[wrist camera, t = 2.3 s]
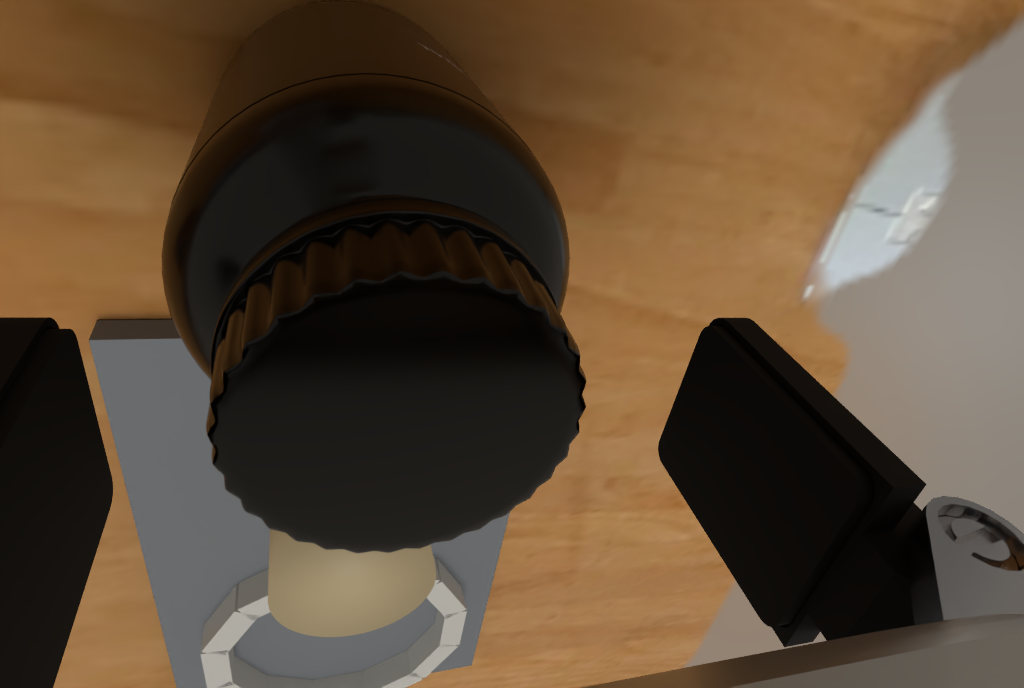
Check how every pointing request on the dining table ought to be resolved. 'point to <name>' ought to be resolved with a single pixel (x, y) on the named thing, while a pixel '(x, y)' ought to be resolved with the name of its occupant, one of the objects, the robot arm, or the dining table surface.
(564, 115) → the dining table surface
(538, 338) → the supplement bottle
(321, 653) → the board
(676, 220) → the dining table surface
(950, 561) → the robot arm
